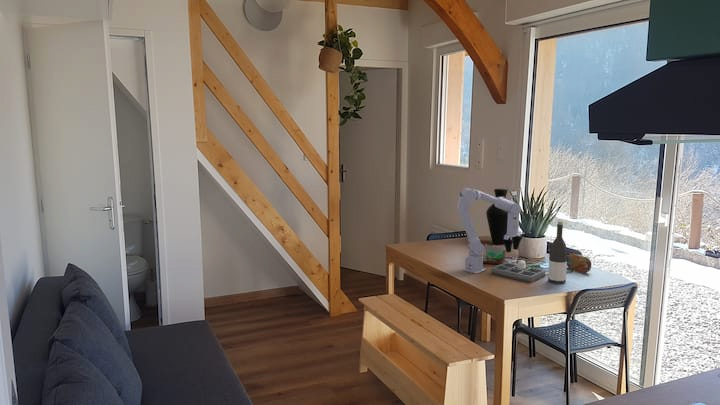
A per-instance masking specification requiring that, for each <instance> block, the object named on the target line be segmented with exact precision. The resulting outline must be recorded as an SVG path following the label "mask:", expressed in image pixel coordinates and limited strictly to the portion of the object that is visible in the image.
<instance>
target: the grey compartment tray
mask: <svg viewBox="0 0 720 405" xmlns="http://www.w3.org/2000/svg"><path fill="white" fill-rule="evenodd" d="M517 268H518V264H516V263H510V262H504V263H503V264H497V265H496V266H495V265H494V267H491V268H490V269H491V271H490V274H492V275H495V276H500V277H504V278H508V279H509V278H510V279H513V280H517V281H521V282H527V283H531V284H532V283H534V282H536V281H538V280H540V279H542V278H544V277H546V270H545V269H540V268H536V267H530V266H526V270H521V269H517Z"/></svg>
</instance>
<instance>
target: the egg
mask: <svg viewBox="0 0 720 405" xmlns="http://www.w3.org/2000/svg"><path fill="white" fill-rule="evenodd" d="M517 265H518V268H517V269H521V270H526V267H527V264H526V262H525V260H522V259H521V260H518V262H517Z"/></svg>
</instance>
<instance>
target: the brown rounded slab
mask: <svg viewBox="0 0 720 405" xmlns="http://www.w3.org/2000/svg"><path fill="white" fill-rule="evenodd" d="M567 268H568V269H569V268H570V270H572V271H575V272H578V273H581V274H584V273H588V272H590V271H591V269H592V261H591V260H590V258H589V257H587V256H584V255H580V254H578V253H577V254H576V253H569V254H567Z"/></svg>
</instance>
